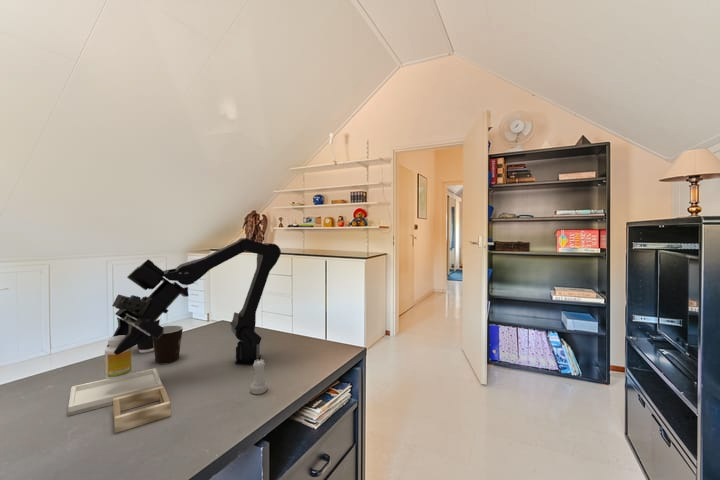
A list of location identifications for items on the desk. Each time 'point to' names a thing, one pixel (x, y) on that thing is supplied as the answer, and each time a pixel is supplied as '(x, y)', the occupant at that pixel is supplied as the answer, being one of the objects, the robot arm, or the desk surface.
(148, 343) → the dixie cup
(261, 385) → the rook chess piece
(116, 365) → the supplement bottle
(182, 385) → the desk surface
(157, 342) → the brown paper tapered cylinder
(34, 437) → the desk surface
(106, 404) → the tray
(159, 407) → the holder sleeve
